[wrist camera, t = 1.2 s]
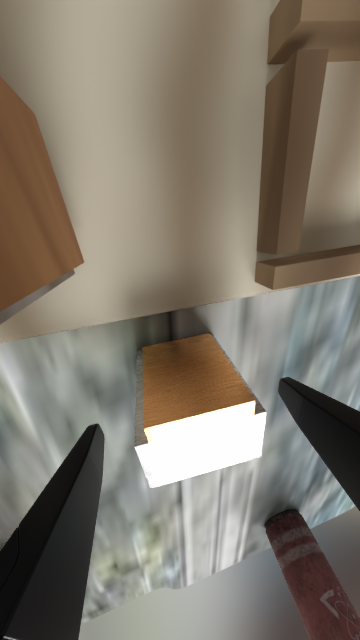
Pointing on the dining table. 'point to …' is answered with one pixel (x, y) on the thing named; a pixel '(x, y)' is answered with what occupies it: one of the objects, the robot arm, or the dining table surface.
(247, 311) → the dining table surface
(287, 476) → the dining table surface
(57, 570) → the robot arm
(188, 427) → the white wood-topped block
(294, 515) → the brown rounded cylinder
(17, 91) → the cream wooden stand
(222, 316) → the dining table surface
